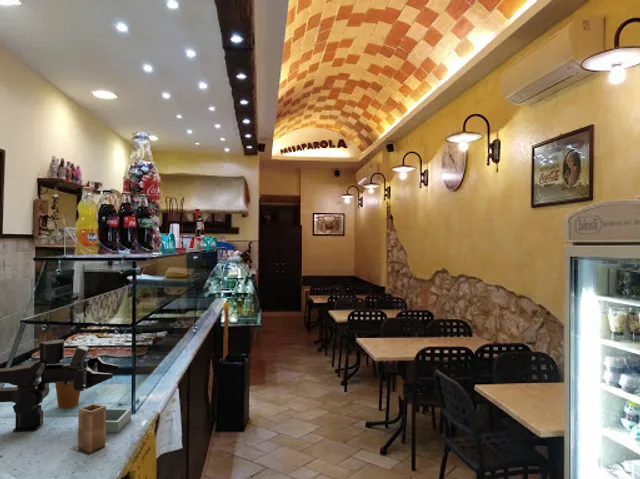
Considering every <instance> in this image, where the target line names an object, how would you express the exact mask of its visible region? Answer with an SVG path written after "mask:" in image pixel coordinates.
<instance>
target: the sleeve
mask: <svg viewBox="0 0 640 479" xmlns="http://www.w3.org/2000/svg"><path fill="white" fill-rule="evenodd" d="M106 409H107V406H106V405H102V404H98V403H95V402H94V403H92V404H91V403H90V404H87V405H85V406H83V407H80V408H78V416H77V417H78V421H77V422H78V423H77V424H78V425H77V426H78V428H77V445H78V448H80V449H83V450H86V451H89V452H90V451H93V450H95V449H97V448H99V447H101V446H103V445H105V441H106V438H107V433H106Z"/></svg>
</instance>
